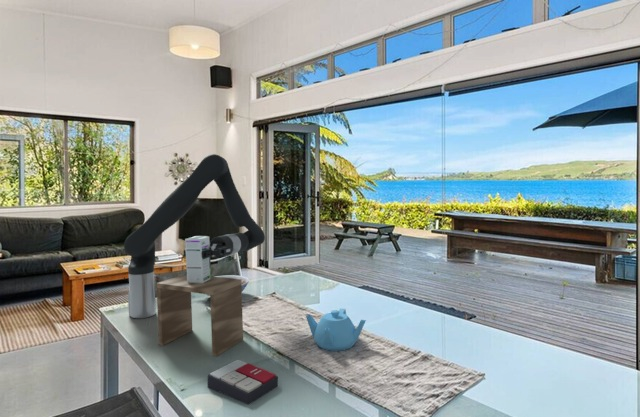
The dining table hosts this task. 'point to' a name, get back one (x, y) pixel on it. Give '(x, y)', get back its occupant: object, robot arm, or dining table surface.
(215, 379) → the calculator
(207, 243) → the syrup box
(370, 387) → the dining table surface
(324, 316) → the teapot
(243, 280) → the ramen bowl
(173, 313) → the cubby shelf
